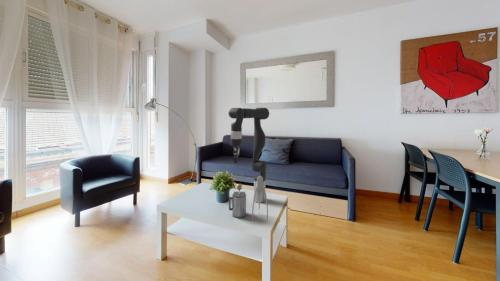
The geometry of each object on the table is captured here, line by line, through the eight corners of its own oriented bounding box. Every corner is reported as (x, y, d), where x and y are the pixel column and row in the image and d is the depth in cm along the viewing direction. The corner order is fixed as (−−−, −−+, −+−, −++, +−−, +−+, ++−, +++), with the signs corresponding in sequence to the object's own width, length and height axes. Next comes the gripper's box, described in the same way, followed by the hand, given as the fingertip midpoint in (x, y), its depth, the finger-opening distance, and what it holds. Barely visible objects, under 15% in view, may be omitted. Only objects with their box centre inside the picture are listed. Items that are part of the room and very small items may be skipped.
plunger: (235, 207, 146) (234, 182, 143) (244, 207, 145) (244, 183, 143) (233, 211, 139) (233, 186, 137) (243, 211, 139) (243, 186, 136)
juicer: (266, 214, 144) (266, 172, 140) (267, 220, 135) (268, 176, 131) (251, 214, 143) (251, 172, 140) (252, 220, 134) (252, 176, 131)
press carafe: (245, 218, 138) (245, 196, 136) (228, 217, 138) (227, 196, 136) (246, 211, 147) (246, 191, 145) (230, 211, 148) (230, 191, 146)
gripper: (232, 136, 144) (232, 159, 146) (229, 139, 130) (229, 163, 132) (242, 136, 144) (242, 159, 146) (241, 139, 130) (241, 164, 132)
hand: (236, 161), depth 139 cm, fingers open, 8 cm apart
